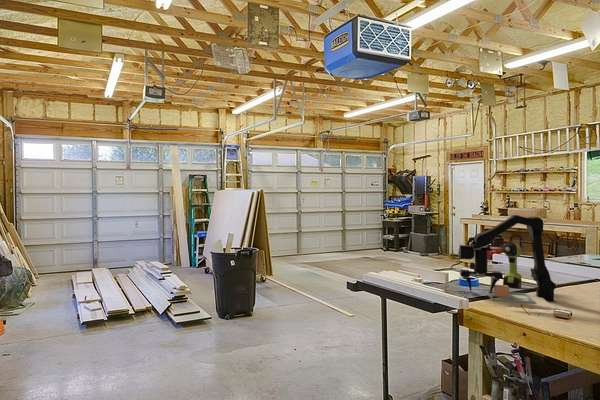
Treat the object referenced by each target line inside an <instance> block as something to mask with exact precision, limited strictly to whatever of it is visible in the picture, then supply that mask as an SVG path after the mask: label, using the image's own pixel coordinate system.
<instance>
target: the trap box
mask: <svg viewBox="0 0 600 400" xmlns="http://www.w3.org/2000/svg"><path fill="white" fill-rule="evenodd" d="M485 292H486V294H487V296H488V297H489V299H490V300H491V301H492V302H502V303H505V302H507V303H515V304H516V303H520V304H533V305H535V304H536V301H535V300H534V299H533V298H532V297H531V296H530V295H529V294H527V293H523V292H521V293H520V292H509V297H506V298H507V299H502V297H501V296H495V295H494V291H492V292H491V293H490V290H489V291H488V290H487V291H485ZM494 297H497V298H494ZM500 298H501V299H500ZM514 299H515V300H514ZM516 299H517V300H516ZM518 299H519V300H518Z"/></svg>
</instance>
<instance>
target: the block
mask: <svg viewBox="0 0 600 400" xmlns="http://www.w3.org/2000/svg"><path fill="white" fill-rule="evenodd" d="M493 292H494V295H495V296H501V297H500V298H507V297H509V293H510V288H509V287H508V286H507V285H503V284H495V285H494V287H493Z"/></svg>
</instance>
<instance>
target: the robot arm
mask: <svg viewBox="0 0 600 400" xmlns="http://www.w3.org/2000/svg"><path fill="white" fill-rule="evenodd" d="M518 224H520V225H524V226H526V229H527V232H528V233H529V235H530V239H531V248H532V256H533V262H534V263H533V264H534V265H533V267H532V268H530V271H531V273H530V274H531V275H530V277H532V279H533V281H535V282H536V285H537V288H536V291H535V293H536V297H537V298H542V299H543V300H544V301H546V302H550V303H551V302H552V303H553V302H554V303H555V302H556V300H555V289H556V287H557V284H556V283H555V282H554V281H552V278H551V275H550V272H549V270H548V267H547V265H546V262H545V261H546V260H545V253H544V247H543V245H544V244H543V237H542V234H543V231H544V220H543V219H542V218H540V217H537V216H528V217H526V216H521V215H517V214H512V215H511V216H510V217H508V218H506V219H504V220H503V221H502V222H500V223H498V224H496V225H495V226H493V227H492V228H490V229H487V230H485V231H484V230H483V231H481V232H480V233H479V232H478V233H477V234H476V235H474V239H473V241H472V242H471V243H470V244H469V245H464V244H460V245H459V248H458V251H457V253H458V254H457V255H458V259H459V260H472V259H474V262H469V269H470V270H473V271H470V270H469V269H463V268H462V269H460V270H459V275H460V277H462V278H463V279H464V280H465V281H466V282H467V285H468V287H469V291H470V292H472V281H471V276H472V277H474V276H477V277H490V286H489V291H490V293H491V292H493V291H494V285H497V284H496V283H497V282H498V281H500V280H503V279H504V275H503V272H501V271H499V270H492V271H491V272H488V264H489V263H488V259H489V258H488V256H489V253H488V252H493V249H492V248H491V247H490V246H489V244H491V242H492V241H493V240H495V238H496V237H498V236H499V235H501V234H503V233H504V232H506V231H508V230H509V229H511V228H512V227H514V226H516V225H518Z"/></svg>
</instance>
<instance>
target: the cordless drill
mask: <svg viewBox="0 0 600 400" xmlns="http://www.w3.org/2000/svg"><path fill="white" fill-rule="evenodd" d="M522 251H523V250H522V248H521V246H520V245H519V244H518V243H516V242H511V241H510V242H507V243H506V244H505V245H504V247H503V252H504V254H505V256H506V257H507V258H508V263H509V266H508V267H509V271H508V272H507V273H505V274H504V275H503V279H502V280H503V281H502V285H507V286H508V287H509V289H521V288H522V277H523V276H522V275H523V274H521V273H519V272H518V267H517V266H518V261H517V258H518V257H519V256H521V254H522V253H523V252H522Z"/></svg>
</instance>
